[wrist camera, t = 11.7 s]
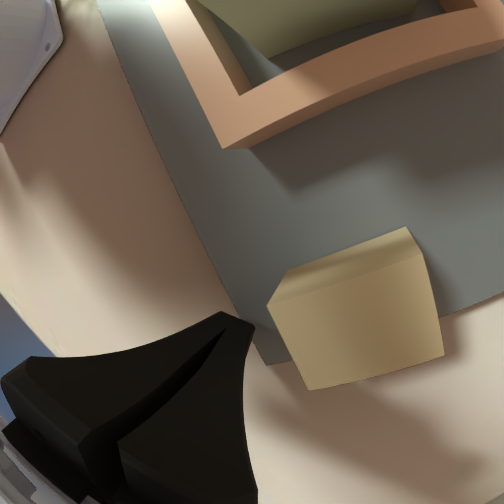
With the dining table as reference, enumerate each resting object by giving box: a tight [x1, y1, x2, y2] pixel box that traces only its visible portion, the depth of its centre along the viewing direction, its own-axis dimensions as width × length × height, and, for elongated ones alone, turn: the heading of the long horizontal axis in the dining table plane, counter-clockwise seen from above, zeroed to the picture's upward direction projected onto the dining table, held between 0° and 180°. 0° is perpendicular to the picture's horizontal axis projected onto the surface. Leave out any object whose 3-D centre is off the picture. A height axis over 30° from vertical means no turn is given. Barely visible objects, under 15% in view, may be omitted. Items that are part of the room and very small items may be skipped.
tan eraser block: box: [267, 226, 445, 391], centre depth 8 cm, size 4×3×2 cm
